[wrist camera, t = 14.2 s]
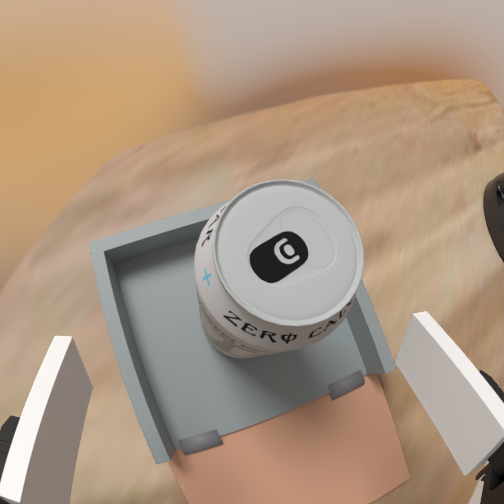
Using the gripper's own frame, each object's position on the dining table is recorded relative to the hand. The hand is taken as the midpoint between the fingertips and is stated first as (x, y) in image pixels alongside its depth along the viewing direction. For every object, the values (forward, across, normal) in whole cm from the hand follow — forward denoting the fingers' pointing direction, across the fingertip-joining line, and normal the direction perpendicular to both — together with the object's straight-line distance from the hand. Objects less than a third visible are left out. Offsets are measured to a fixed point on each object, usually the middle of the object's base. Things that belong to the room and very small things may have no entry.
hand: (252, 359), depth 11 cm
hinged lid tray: (+8, +2, -12) cm, 14 cm away
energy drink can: (+11, +1, -6) cm, 13 cm away
